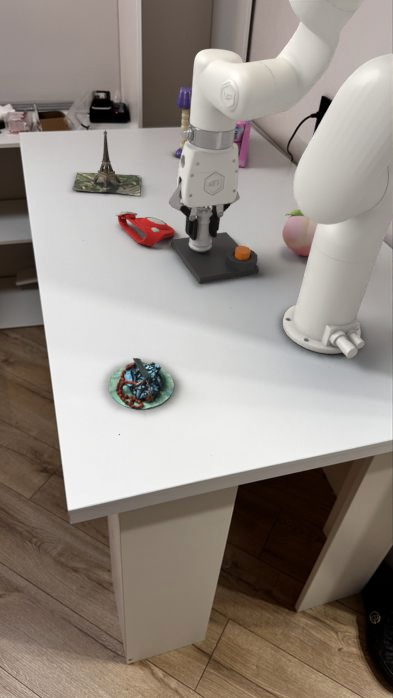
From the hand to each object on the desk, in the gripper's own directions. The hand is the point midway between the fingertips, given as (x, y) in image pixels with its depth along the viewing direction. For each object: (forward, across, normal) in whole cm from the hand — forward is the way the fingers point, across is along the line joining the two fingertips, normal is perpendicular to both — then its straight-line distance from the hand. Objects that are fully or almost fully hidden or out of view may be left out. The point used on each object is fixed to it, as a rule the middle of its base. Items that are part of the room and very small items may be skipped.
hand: (201, 234), depth 99 cm
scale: (+5, +2, -2) cm, 5 cm away
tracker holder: (+5, -7, +11) cm, 14 cm away
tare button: (+2, +5, -6) cm, 9 cm away
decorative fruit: (+5, +20, -5) cm, 21 cm away
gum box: (+5, +31, +49) cm, 58 cm away
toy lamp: (+5, +16, +48) cm, 51 cm away
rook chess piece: (+3, 0, 0) cm, 3 cm away
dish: (+5, -22, -30) cm, 37 cm away
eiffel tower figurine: (+5, -8, +35) cm, 36 cm away
